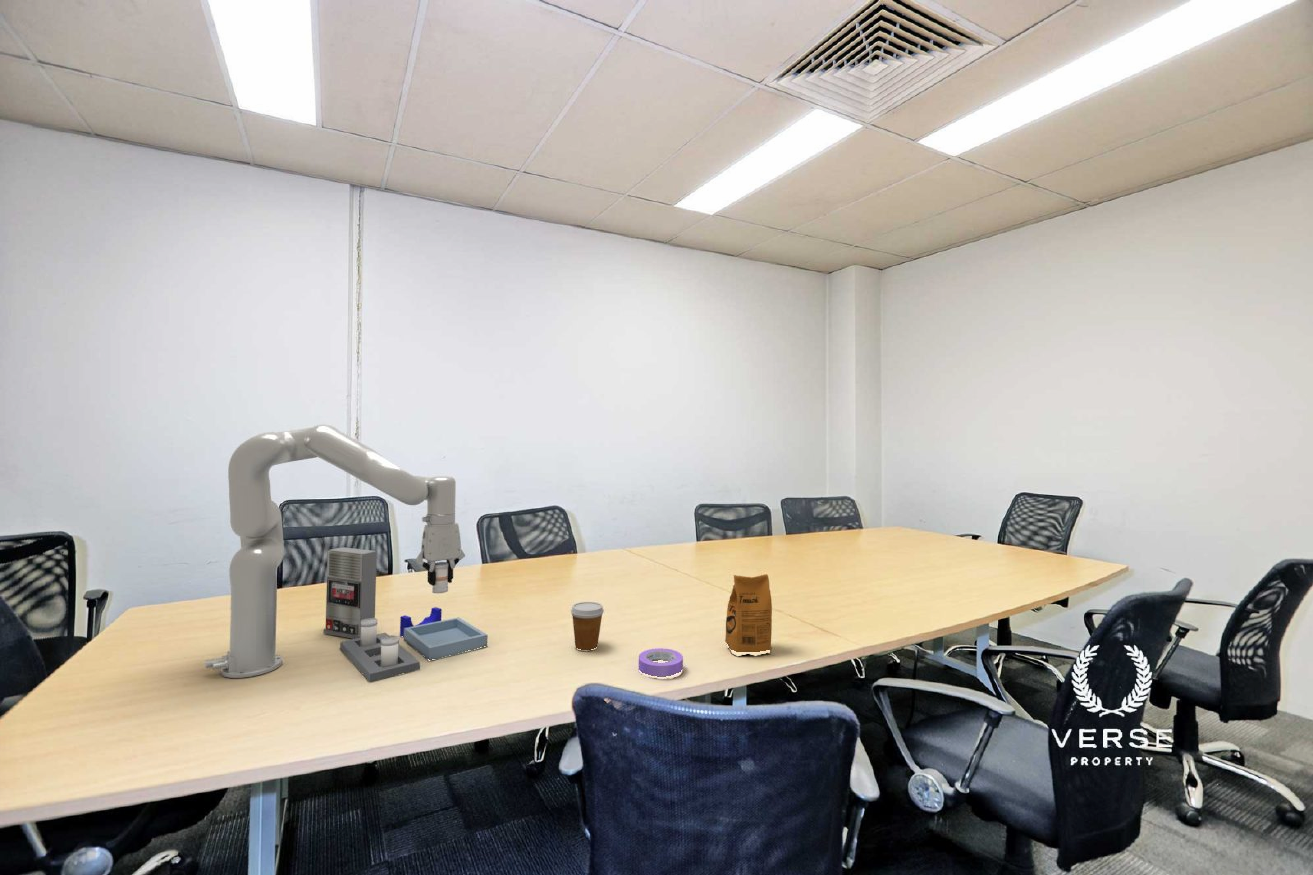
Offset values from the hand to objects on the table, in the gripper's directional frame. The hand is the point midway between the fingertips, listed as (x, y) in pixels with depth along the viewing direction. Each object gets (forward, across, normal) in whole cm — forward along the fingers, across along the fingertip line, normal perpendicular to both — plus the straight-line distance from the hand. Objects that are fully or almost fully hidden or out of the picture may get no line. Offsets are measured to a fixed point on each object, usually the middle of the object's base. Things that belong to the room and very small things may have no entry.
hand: (440, 582), depth 161 cm
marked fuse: (+2, 0, 0) cm, 2 cm away
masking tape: (+19, +38, -53) cm, 68 cm away
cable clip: (+18, 0, +15) cm, 24 cm away
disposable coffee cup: (+19, +32, -28) cm, 46 cm away
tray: (+18, +2, 0) cm, 18 cm away
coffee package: (+19, +67, -58) cm, 91 cm away
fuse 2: (+18, -16, -9) cm, 26 cm away
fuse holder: (+18, -16, 0) cm, 24 cm away
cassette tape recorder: (+18, -18, +25) cm, 35 cm away
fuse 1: (+18, -16, +9) cm, 26 cm away
